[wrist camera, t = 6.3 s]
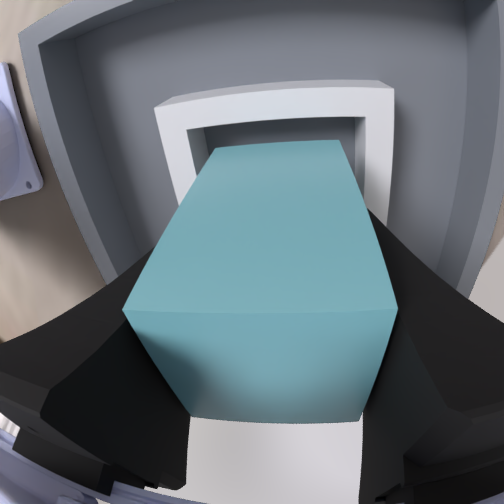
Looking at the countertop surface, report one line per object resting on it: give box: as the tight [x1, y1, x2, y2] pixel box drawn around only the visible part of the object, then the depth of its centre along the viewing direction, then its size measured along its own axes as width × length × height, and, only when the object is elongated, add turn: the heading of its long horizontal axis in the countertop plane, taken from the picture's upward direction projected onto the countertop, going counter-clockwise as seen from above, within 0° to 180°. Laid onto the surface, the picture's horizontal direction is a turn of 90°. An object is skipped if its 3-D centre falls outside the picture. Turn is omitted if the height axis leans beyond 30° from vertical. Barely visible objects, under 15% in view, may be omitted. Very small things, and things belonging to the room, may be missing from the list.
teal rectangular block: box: [122, 140, 398, 424], centre depth 8 cm, size 4×4×7 cm
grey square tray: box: [18, 0, 504, 299], centre depth 12 cm, size 18×18×3 cm
